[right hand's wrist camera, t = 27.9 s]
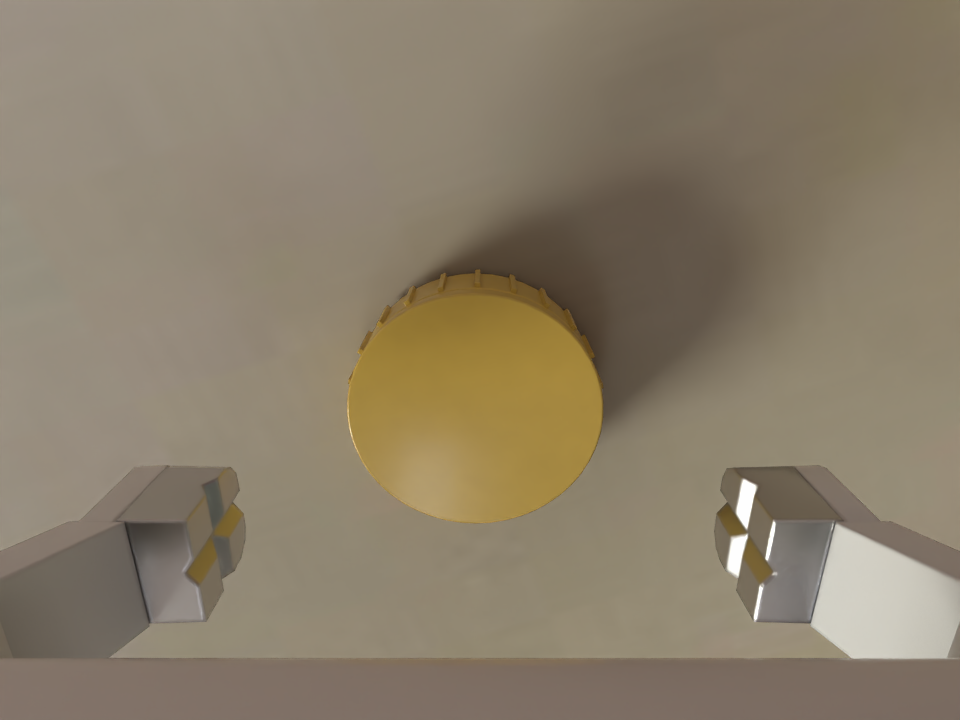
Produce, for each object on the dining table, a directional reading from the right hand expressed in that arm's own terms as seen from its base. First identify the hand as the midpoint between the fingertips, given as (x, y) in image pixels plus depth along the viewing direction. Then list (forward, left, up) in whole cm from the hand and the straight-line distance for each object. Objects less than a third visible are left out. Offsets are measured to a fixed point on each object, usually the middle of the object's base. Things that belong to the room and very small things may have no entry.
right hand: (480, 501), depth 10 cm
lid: (+1, 0, -2) cm, 2 cm away
